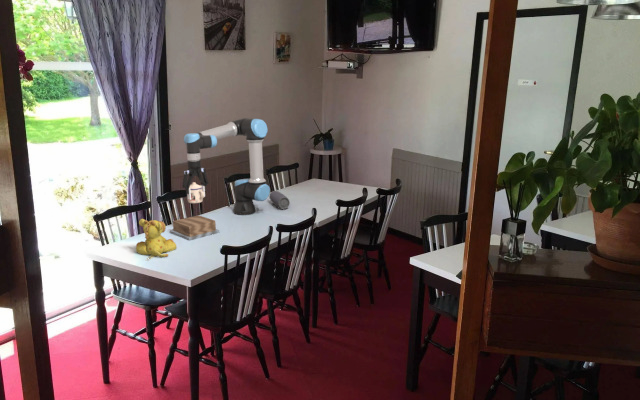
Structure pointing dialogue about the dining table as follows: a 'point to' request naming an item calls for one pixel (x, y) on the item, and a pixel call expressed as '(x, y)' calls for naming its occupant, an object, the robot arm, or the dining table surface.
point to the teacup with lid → (196, 193)
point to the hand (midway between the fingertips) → (196, 197)
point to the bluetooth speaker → (279, 199)
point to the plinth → (194, 227)
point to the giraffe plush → (154, 240)
